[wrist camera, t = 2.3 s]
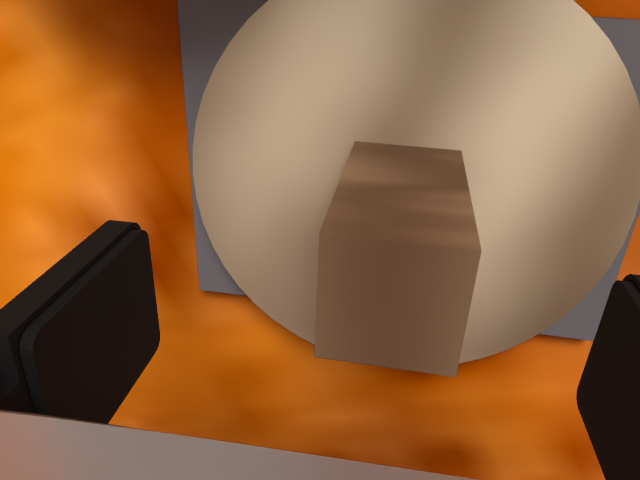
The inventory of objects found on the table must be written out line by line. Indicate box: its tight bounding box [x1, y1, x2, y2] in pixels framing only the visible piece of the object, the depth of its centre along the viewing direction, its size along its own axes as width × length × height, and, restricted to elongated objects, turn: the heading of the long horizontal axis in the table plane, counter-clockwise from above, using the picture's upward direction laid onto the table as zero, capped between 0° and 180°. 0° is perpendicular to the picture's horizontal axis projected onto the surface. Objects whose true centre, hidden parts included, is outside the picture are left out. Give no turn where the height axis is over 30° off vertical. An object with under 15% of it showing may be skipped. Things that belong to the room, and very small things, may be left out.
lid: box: [193, 0, 640, 377], centre depth 14 cm, size 13×13×7 cm
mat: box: [177, 0, 640, 341], centre depth 17 cm, size 14×10×1 cm
